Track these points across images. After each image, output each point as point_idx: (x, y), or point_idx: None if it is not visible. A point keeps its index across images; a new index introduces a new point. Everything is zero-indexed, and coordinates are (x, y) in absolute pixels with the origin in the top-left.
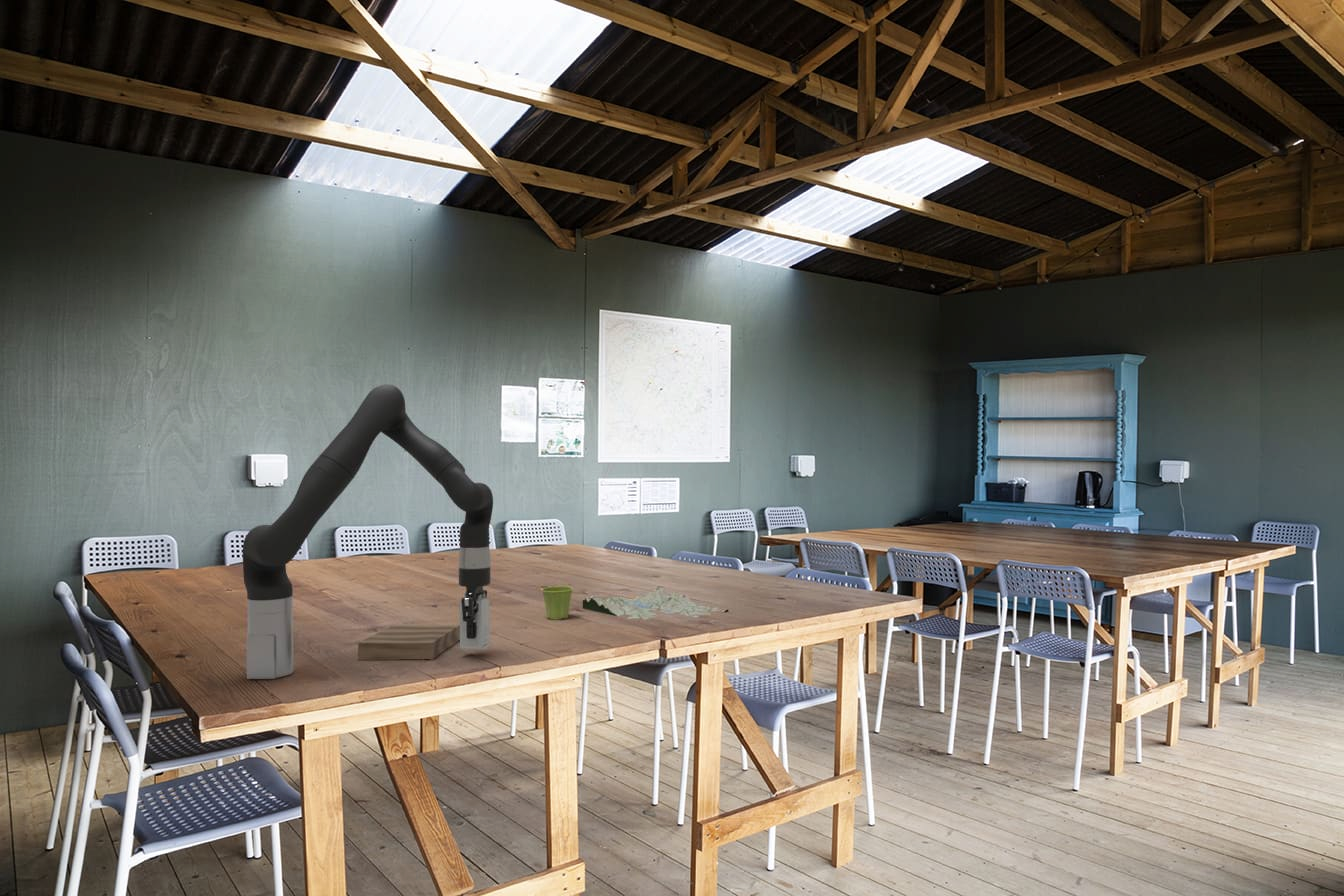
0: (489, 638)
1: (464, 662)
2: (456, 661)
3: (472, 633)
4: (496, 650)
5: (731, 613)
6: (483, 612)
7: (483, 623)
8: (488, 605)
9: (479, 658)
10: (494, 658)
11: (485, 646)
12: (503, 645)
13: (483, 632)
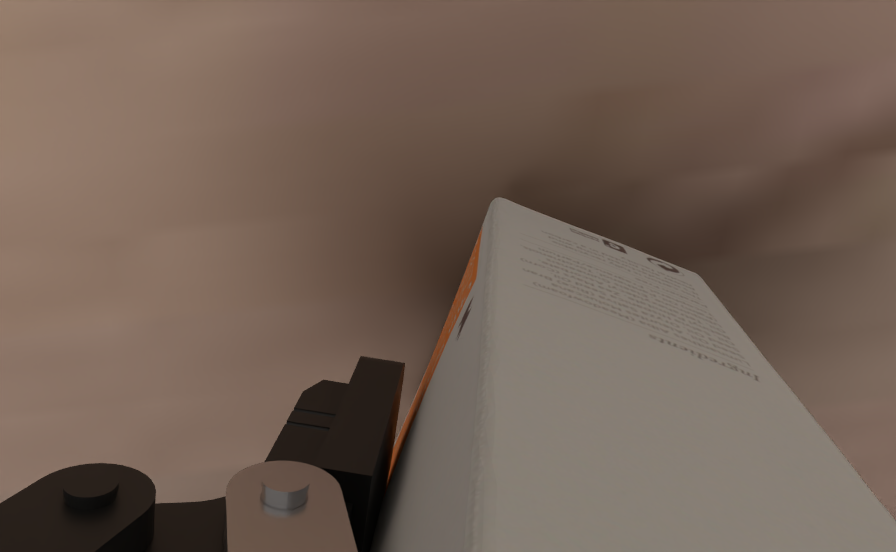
0: (501, 220)
1: (832, 401)
2: None
3: None
4: (288, 120)
5: None
6: (841, 542)
7: (760, 399)
8: (554, 528)
9: None
10: (717, 97)
11: (613, 242)
12: (16, 62)
13: (708, 331)
